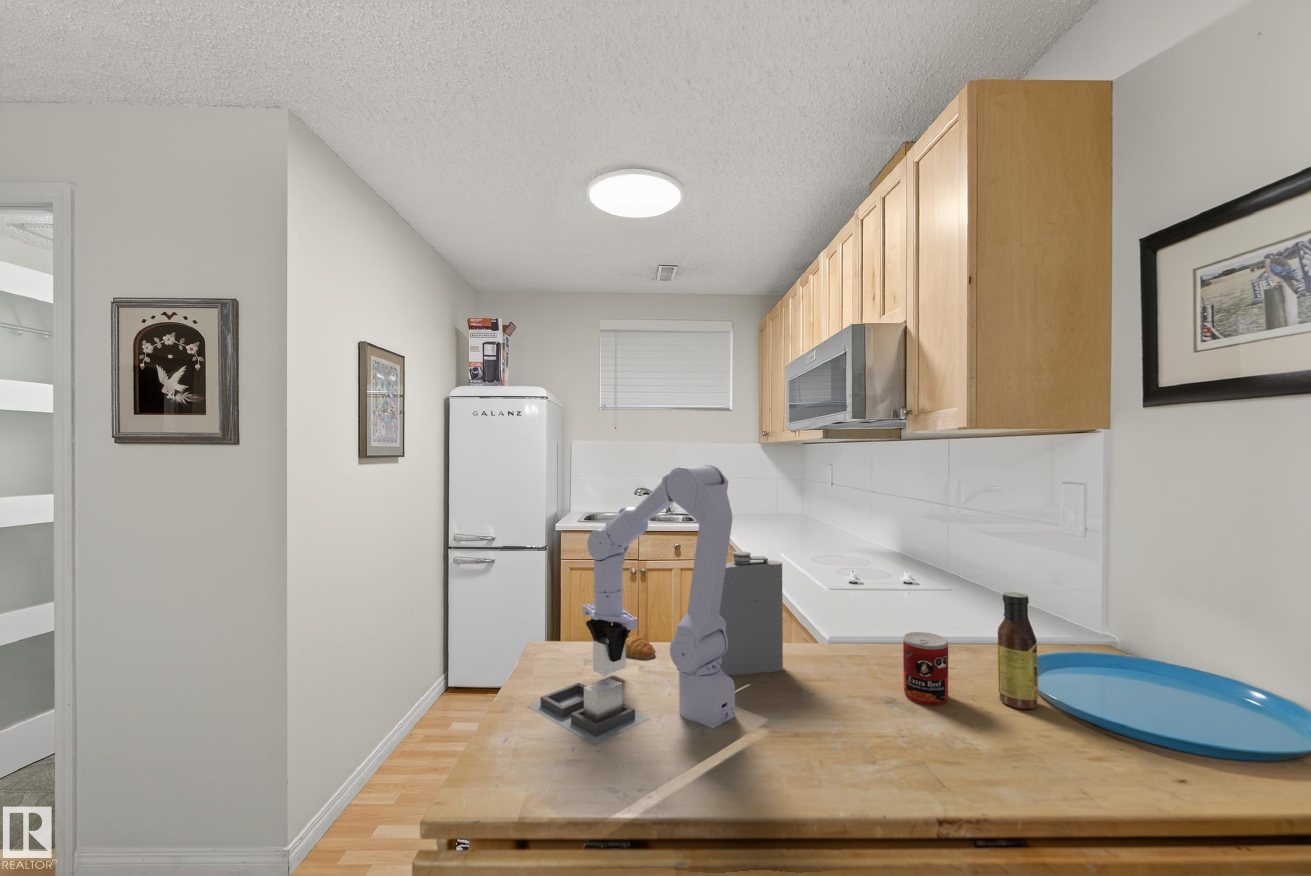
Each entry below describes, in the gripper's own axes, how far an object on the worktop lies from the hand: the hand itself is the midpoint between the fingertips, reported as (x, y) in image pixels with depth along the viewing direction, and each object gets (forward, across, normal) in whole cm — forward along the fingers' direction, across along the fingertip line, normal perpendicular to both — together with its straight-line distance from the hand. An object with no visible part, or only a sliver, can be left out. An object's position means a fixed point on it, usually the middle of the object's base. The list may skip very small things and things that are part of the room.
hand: (609, 657), depth 117 cm
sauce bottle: (+6, +60, +47) cm, 76 cm away
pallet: (+5, +8, -12) cm, 15 cm away
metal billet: (+2, 0, 0) cm, 2 cm away
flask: (+6, +15, +24) cm, 29 cm away
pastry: (+6, -8, +15) cm, 18 cm away
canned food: (+6, +47, +38) cm, 61 cm away
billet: (+4, +12, -12) cm, 18 cm away
